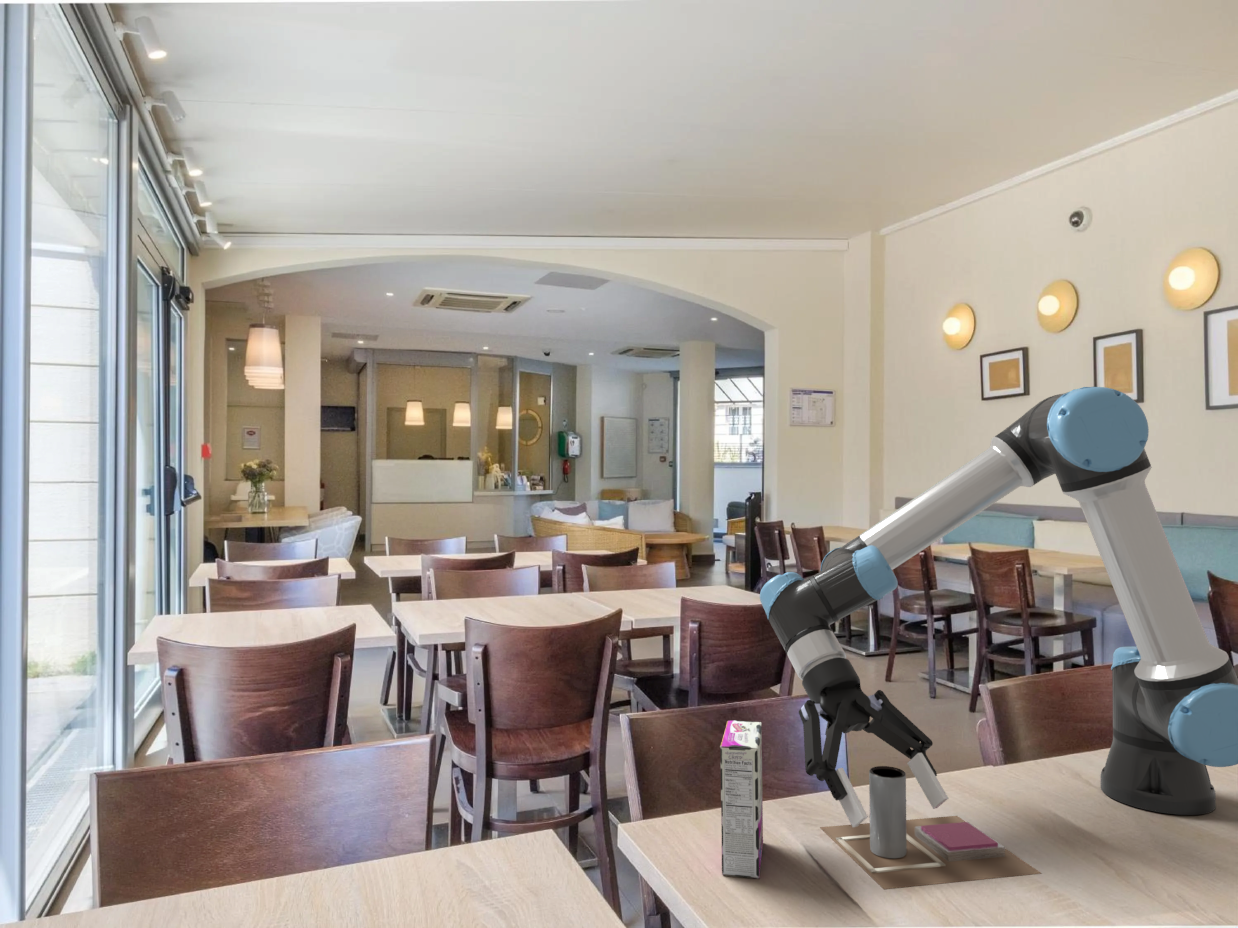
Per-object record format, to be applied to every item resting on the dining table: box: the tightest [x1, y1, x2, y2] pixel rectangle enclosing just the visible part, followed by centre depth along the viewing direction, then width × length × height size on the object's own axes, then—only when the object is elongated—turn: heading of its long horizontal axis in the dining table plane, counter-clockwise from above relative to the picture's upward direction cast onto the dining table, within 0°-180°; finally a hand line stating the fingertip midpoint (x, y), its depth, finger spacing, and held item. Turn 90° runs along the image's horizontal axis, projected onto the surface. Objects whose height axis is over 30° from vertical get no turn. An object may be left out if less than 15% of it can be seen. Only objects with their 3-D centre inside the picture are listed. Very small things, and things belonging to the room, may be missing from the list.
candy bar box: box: [719, 720, 764, 879], centre depth 112 cm, size 11×5×16 cm, turn 168°
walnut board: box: [819, 815, 1043, 890], centre depth 113 cm, size 21×18×1 cm
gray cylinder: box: [868, 765, 907, 859], centre depth 112 cm, size 4×4×10 cm
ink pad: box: [915, 821, 1006, 862], centre depth 114 cm, size 8×8×2 cm
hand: (901, 812), depth 110 cm, fingers open, 13 cm apart
